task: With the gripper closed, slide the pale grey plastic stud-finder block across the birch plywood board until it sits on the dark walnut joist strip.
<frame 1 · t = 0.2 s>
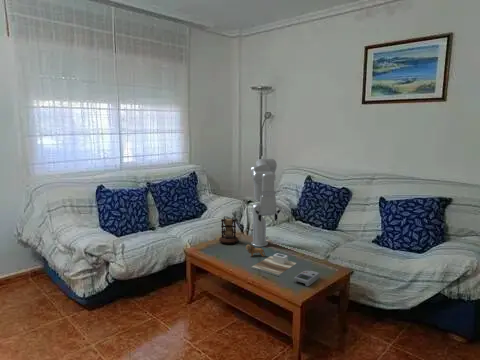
hand: (267, 220, 212), 31 cm above the table, tool pointing down, fingers open, 9 cm apart
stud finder: (280, 261, 223), point 1 cm above the table, touching plywood board
handheld gaming device: (306, 281, 199), on the table
brown upright piece: (228, 242, 266), on the table
plywood board: (274, 267, 217), on the table
lion figurine: (255, 257, 234), on the table
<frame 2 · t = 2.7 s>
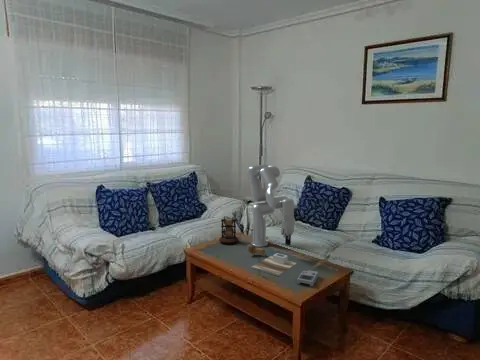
hand: (288, 244, 228), 11 cm above the table, tool pointing down, fingers closed
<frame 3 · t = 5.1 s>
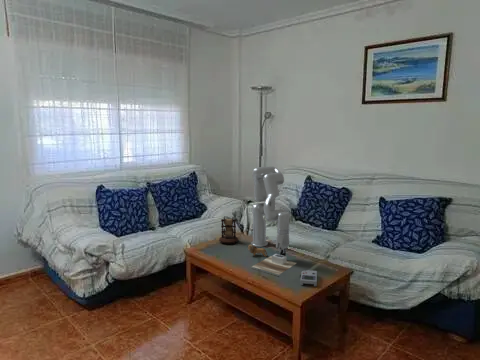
hand: (282, 258, 225), 3 cm above the table, tool pointing down, fingers closed
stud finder: (279, 262, 222), point 2 cm above the table, touching gripper
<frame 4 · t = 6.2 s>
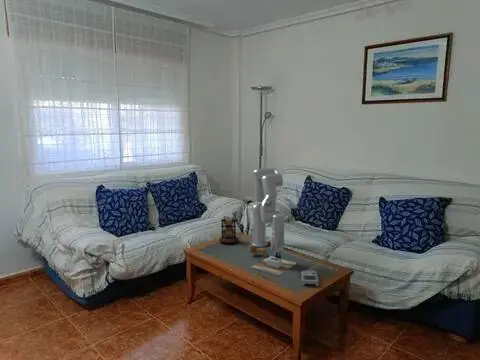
hand: (277, 261, 220), 3 cm above the table, tool pointing down, fingers closed
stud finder: (274, 265, 217), point 2 cm above the table, touching gripper, plywood board
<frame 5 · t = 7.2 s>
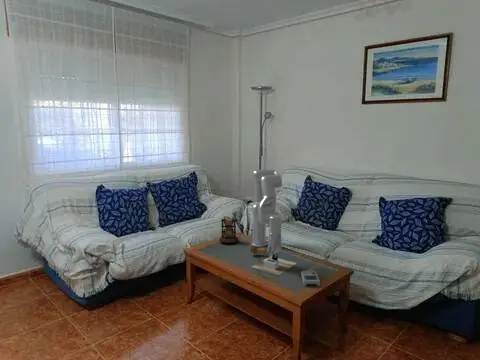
hand: (274, 262, 217), 3 cm above the table, tool pointing down, fingers closed
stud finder: (271, 267, 214), point 1 cm above the table, touching plywood board
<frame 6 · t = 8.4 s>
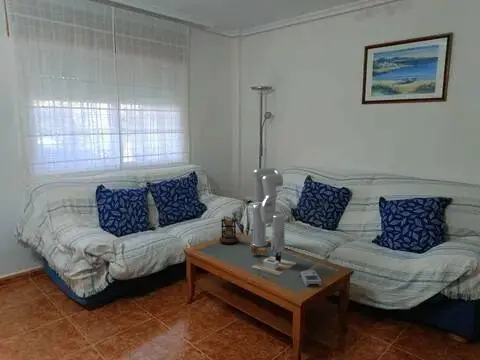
hand: (278, 261, 221), 2 cm above the table, tool pointing down, fingers closed
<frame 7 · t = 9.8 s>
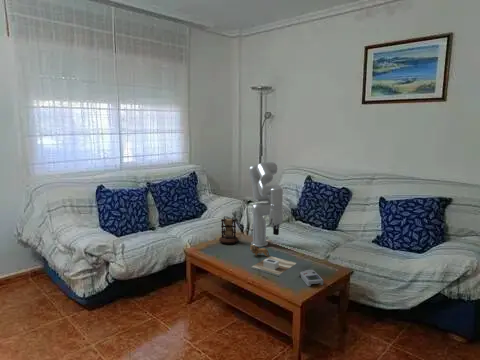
hand: (275, 234, 221), 19 cm above the table, tool pointing down, fingers closed
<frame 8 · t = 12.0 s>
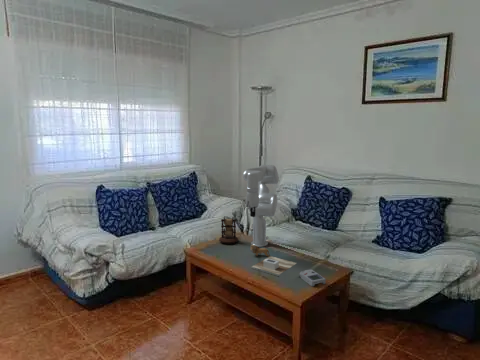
hand: (252, 216, 236), 27 cm above the table, tool pointing down, fingers closed
lion figurine: (260, 258, 233), on the table, touching plywood board
at the end: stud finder inside the target area on the plywood board (1.3 cm from its centre), point 1.5 cm above the plywood board's base; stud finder tilted 0°; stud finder moved 11.5 cm from its start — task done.
